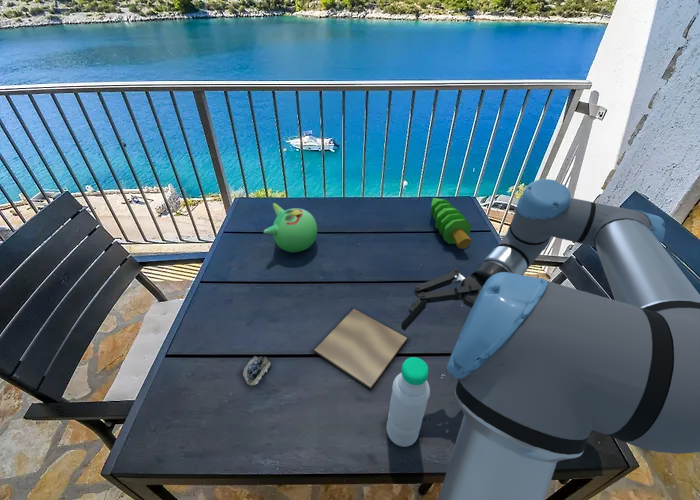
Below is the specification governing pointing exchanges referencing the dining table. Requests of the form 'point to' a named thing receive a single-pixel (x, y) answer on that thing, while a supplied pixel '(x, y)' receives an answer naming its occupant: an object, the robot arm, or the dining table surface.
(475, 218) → the dining table surface
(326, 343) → the gold metal sheet
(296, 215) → the toy bird
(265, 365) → the geode
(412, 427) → the water bottle
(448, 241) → the decorative tree
